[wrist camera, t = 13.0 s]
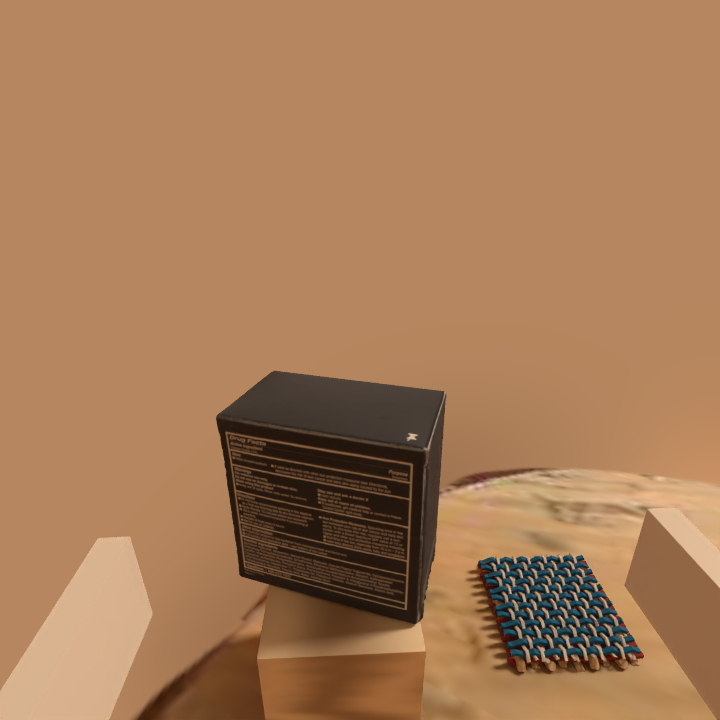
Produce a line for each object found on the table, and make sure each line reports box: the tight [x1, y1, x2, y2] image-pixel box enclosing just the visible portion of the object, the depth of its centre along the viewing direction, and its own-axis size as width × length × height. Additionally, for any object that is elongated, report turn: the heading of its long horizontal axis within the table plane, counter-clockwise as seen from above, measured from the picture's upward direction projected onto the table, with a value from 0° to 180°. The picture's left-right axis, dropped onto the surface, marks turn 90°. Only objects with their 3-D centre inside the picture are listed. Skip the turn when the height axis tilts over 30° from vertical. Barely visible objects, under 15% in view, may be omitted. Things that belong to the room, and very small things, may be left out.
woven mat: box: [478, 554, 644, 672], centre depth 38 cm, size 10×11×2 cm
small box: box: [216, 371, 446, 624], centre depth 25 cm, size 11×6×10 cm, turn 73°
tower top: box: [257, 584, 426, 720], centre depth 28 cm, size 8×12×7 cm, turn 3°
